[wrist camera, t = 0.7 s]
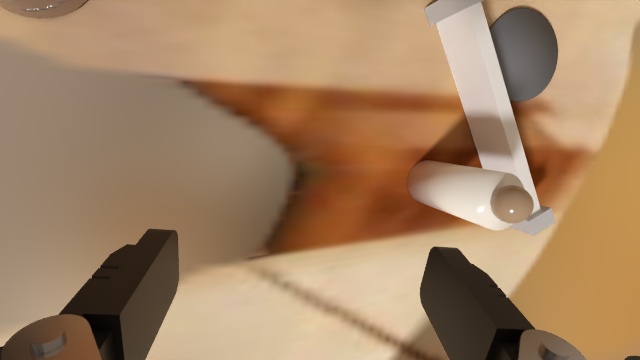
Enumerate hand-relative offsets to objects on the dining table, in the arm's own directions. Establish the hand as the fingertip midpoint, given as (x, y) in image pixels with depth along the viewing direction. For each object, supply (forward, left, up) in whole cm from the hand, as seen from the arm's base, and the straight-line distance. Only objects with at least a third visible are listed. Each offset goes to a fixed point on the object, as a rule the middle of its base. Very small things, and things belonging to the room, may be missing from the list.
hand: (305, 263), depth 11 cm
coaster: (+2, +33, -23) cm, 40 cm away
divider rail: (+6, +25, -23) cm, 35 cm away
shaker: (+10, +17, -23) cm, 30 cm away
